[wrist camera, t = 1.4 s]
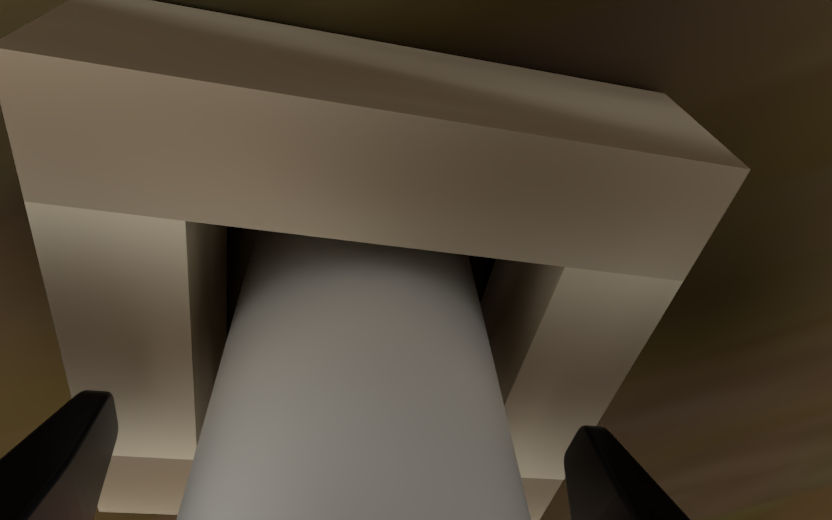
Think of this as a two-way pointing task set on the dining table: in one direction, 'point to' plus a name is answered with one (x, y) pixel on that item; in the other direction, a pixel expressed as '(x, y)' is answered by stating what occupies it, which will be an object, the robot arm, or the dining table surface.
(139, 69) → the beige square frame
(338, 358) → the plug
